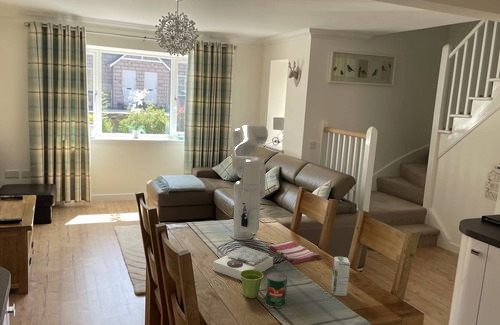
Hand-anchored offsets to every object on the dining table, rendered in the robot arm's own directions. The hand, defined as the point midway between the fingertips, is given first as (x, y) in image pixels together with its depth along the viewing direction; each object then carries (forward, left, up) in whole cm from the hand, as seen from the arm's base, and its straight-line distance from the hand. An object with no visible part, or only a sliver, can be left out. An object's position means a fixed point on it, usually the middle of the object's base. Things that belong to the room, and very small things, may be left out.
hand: (249, 224), depth 190 cm
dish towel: (-28, +9, -21) cm, 36 cm away
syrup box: (-3, +44, -20) cm, 49 cm away
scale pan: (0, 0, -15) cm, 15 cm away
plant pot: (+22, +17, -20) cm, 35 cm away
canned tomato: (+21, +28, -20) cm, 41 cm away
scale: (+3, 0, -20) cm, 20 cm away
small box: (0, 0, -3) cm, 3 cm away
